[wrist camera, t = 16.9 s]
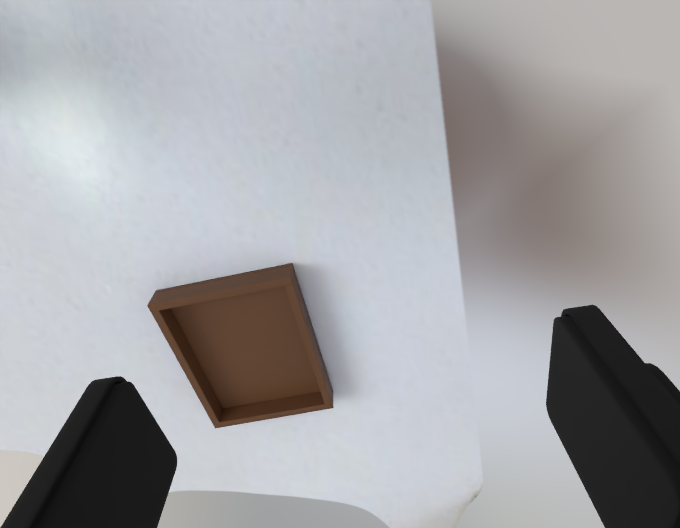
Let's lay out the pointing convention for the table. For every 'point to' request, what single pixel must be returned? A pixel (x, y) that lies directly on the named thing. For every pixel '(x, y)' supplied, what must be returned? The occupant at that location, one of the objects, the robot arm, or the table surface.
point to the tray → (246, 345)
